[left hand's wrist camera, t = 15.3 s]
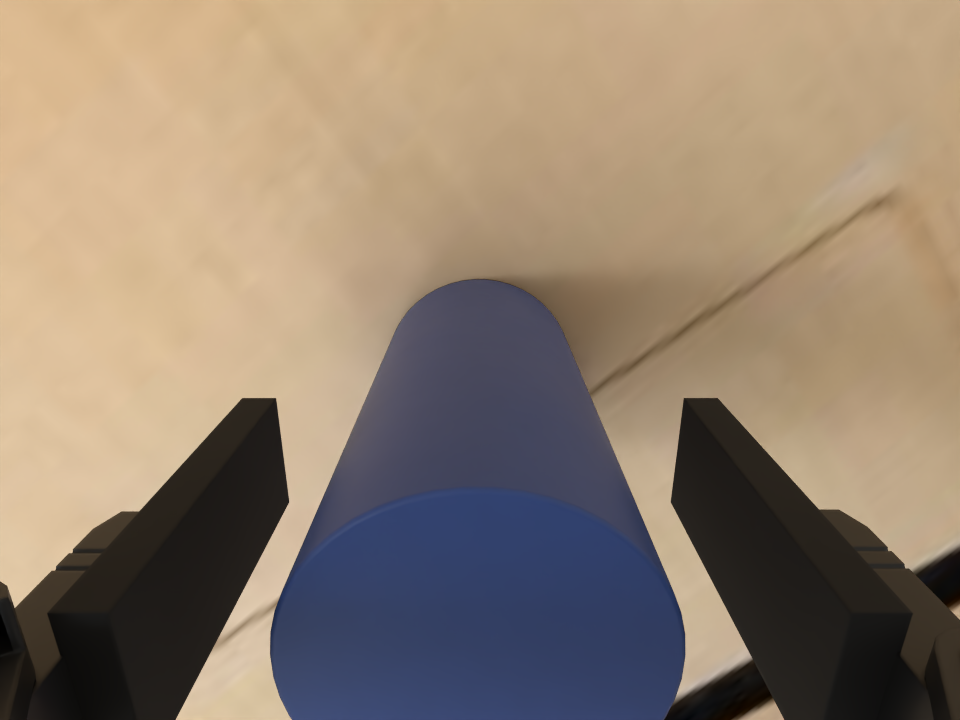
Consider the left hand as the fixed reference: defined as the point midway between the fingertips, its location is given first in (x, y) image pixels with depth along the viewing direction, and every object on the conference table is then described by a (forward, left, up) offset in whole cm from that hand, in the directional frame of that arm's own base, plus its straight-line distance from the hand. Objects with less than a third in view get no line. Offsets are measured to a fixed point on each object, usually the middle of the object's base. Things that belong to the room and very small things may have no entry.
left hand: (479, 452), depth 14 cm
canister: (0, 0, -6) cm, 6 cm away
